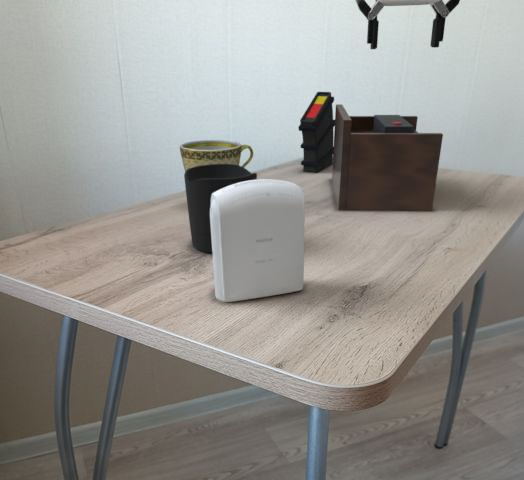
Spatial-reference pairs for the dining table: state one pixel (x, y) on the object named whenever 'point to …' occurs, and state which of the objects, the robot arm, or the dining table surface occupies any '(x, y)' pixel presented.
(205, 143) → the ceramic cup
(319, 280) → the dining table surface
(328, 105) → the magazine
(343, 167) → the wooden storage bin
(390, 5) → the robot arm
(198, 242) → the pen holder
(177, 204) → the dining table surface
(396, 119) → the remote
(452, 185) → the dining table surface
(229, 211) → the photo printer
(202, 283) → the dining table surface
